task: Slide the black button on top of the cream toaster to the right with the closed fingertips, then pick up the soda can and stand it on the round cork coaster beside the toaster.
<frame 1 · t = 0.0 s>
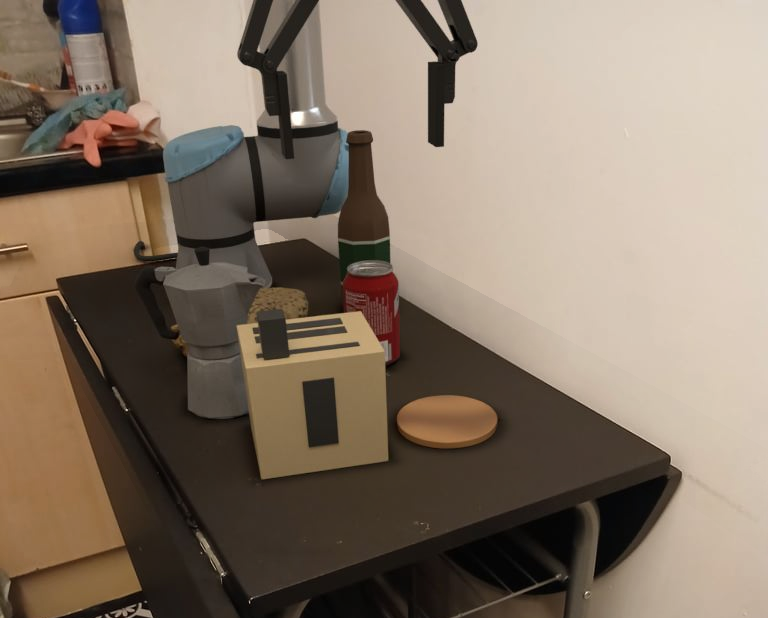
hand: (363, 150, 71), 28 cm above the table, tool pointing down, fingers open, 13 cm apart
coaster: (446, 423, 87), on the table
beer bottle: (367, 311, 117), on the table
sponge: (250, 346, 107), on the table
toaster: (317, 444, 84), on the table
soda can: (373, 361, 102), on the table
browning slider: (273, 334, 73), point 14 cm above the table, slide at 0.0 cm
coffeepot: (218, 402, 93), on the table
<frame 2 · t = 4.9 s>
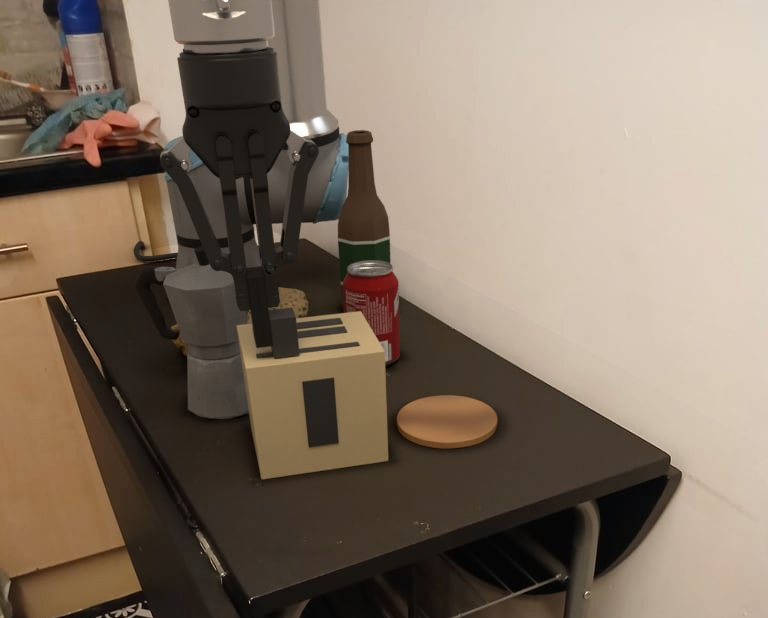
hand: (263, 341, 73), 13 cm above the table, tool pointing down, fingers closed
browning slider: (283, 332, 73), point 14 cm above the table, slide at 0.9 cm, touching gripper
everything else where it was.
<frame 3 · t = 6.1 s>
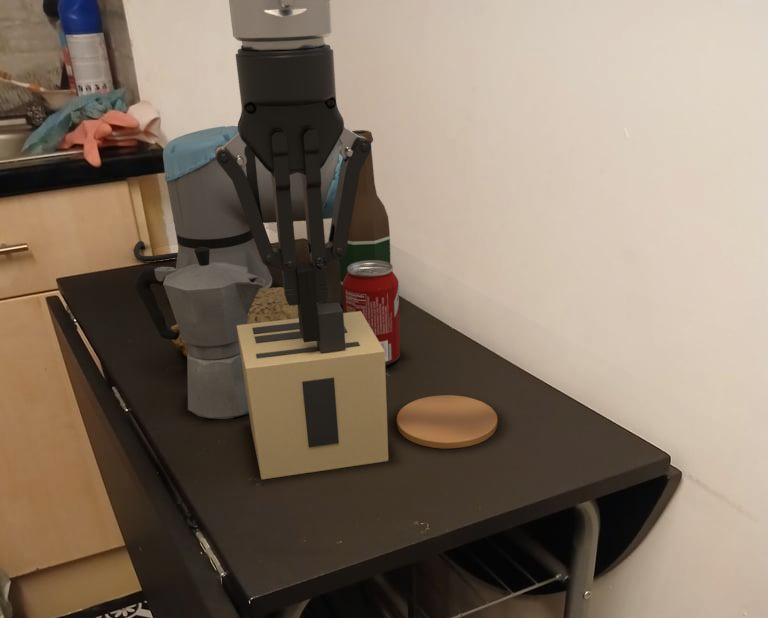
hand: (309, 335, 74), 13 cm above the table, tool pointing down, fingers closed
browning slider: (329, 327, 74), point 14 cm above the table, slide at 5.3 cm, touching gripper
everything else where it was.
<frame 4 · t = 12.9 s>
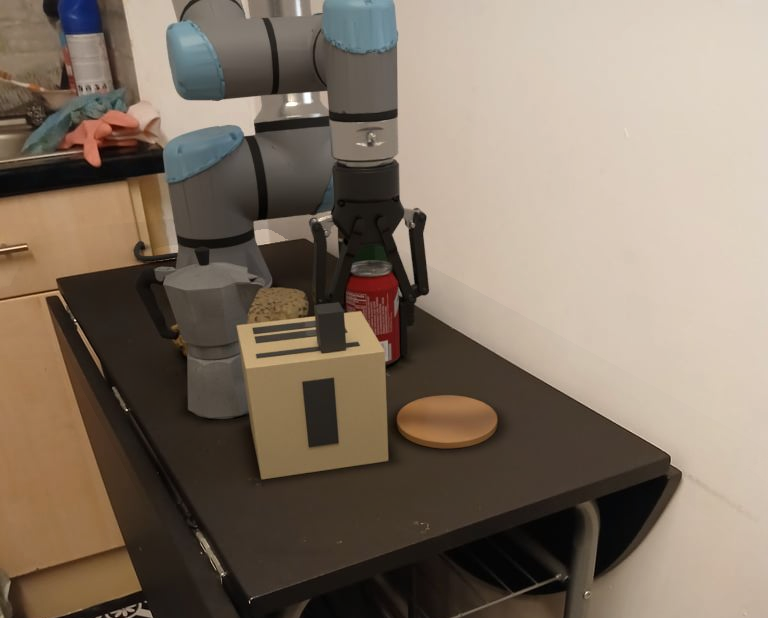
hand: (373, 353, 101), 1 cm above the table, tool pointing down, fingers closed on soda can, 7 cm apart
soda can: (373, 361, 102), on the table, touching gripper
browning slider: (330, 327, 74), point 14 cm above the table, slide at 5.4 cm
everything else where it was.
when the fingers open (2 cm above the table, at t = 20.7 s): soda can stays where it is, resting on coaster.
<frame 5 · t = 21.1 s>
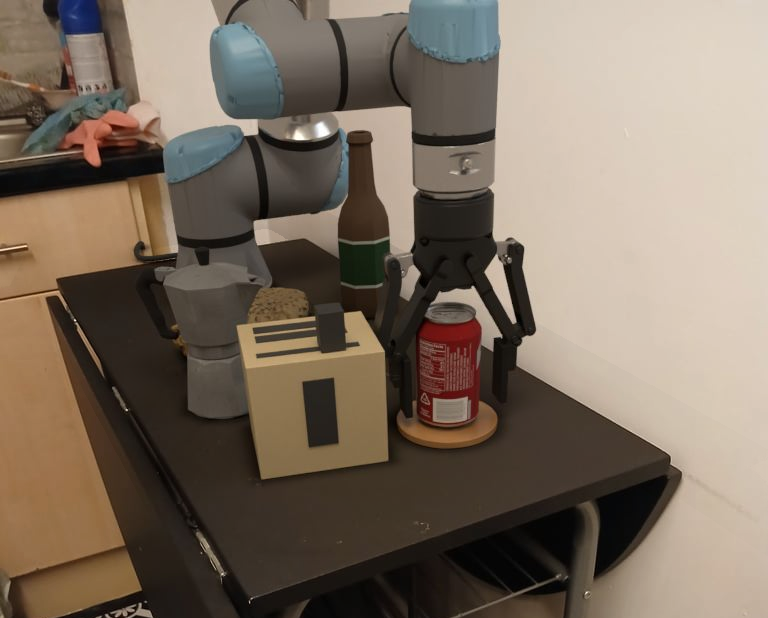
hand: (453, 405, 86), 2 cm above the table, tool pointing down, fingers open, 10 cm apart
soda can: (447, 418, 86), point 1 cm above the table, touching coaster
everything else where it was.
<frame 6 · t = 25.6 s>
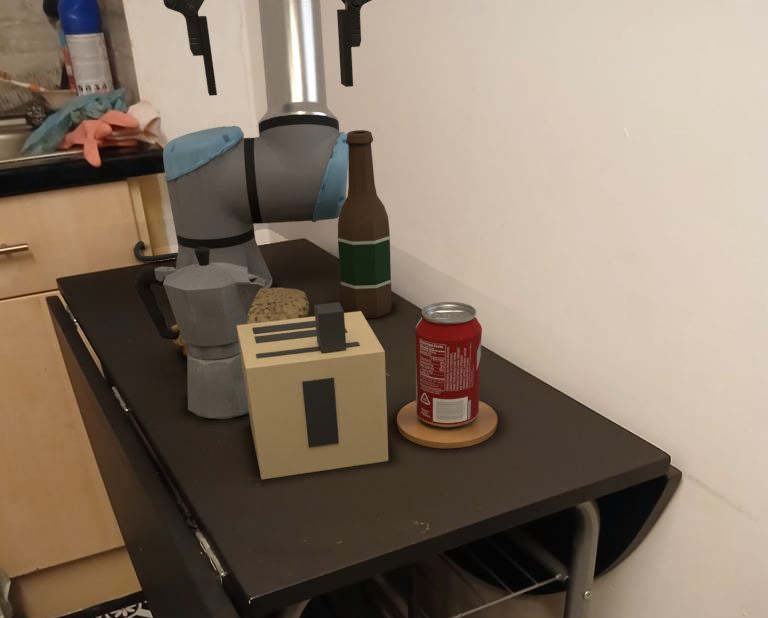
hand: (280, 90, 80), 32 cm above the table, tool pointing down, fingers open, 13 cm apart
nothing on the table moved.
at the end: browning slider slide at 5.4 cm; soda can 0.0 cm off-centre on the coaster, point 0.6 cm above the coaster's base; soda can tilted 0° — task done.
